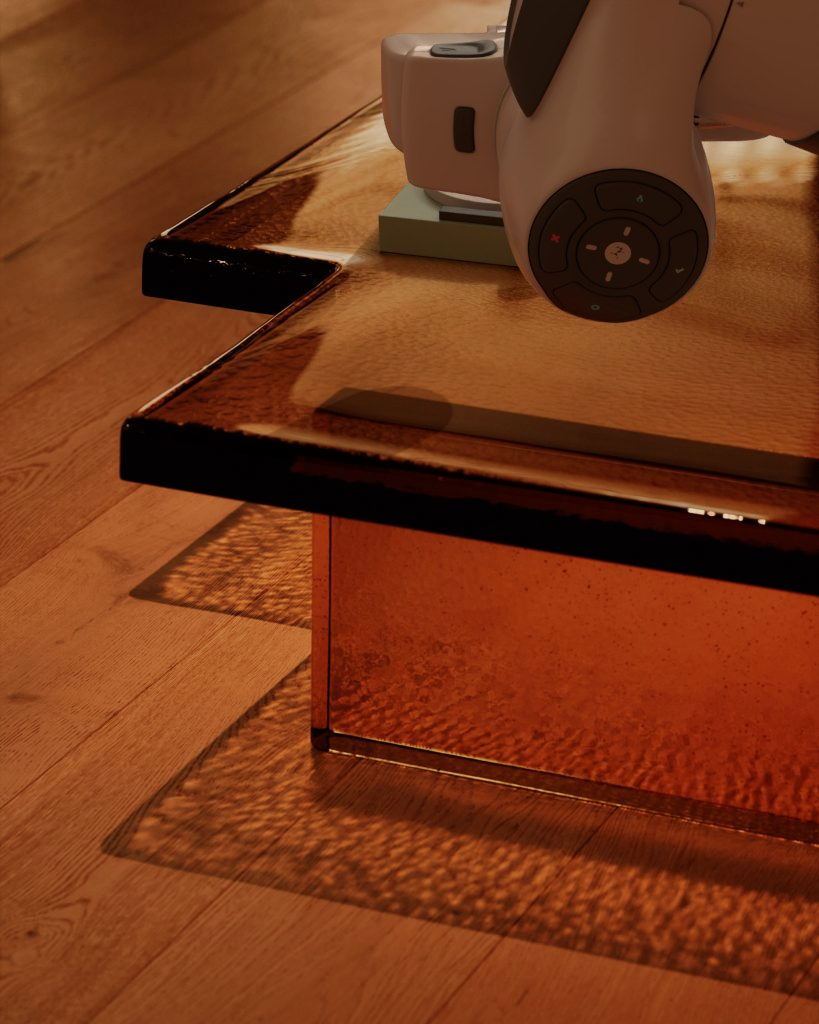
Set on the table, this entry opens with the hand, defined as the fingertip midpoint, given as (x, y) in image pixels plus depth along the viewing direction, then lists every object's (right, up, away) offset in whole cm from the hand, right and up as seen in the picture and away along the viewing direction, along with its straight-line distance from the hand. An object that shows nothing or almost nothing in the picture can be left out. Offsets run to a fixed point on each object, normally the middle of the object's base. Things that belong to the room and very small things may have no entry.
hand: (571, 39), depth 87 cm
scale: (-2, -6, +22) cm, 23 cm away
